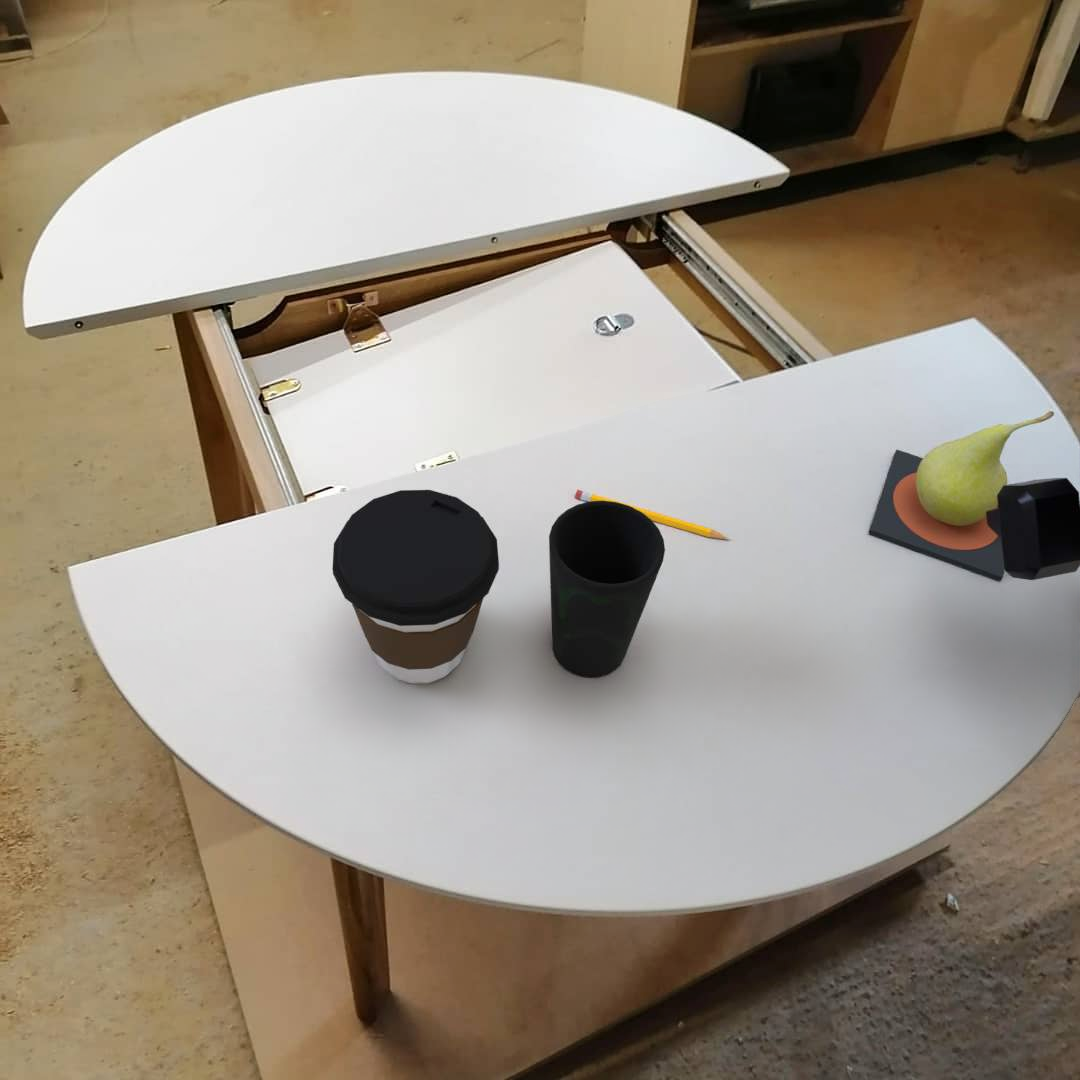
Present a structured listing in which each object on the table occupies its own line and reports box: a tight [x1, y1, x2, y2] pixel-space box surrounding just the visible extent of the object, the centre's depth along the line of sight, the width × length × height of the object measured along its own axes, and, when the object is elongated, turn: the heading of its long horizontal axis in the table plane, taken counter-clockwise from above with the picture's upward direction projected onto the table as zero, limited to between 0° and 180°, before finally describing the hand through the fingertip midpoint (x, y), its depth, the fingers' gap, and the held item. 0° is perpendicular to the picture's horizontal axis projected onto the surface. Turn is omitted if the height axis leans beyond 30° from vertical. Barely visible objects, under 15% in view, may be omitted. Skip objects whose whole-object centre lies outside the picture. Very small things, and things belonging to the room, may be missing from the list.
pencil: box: [574, 489, 730, 540], centre depth 84 cm, size 1×13×1 cm, turn 70°
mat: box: [867, 449, 1005, 582], centre depth 87 cm, size 11×11×1 cm
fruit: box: [916, 410, 1055, 526], centre depth 82 cm, size 7×8×12 cm
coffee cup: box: [332, 489, 500, 685], centre depth 70 cm, size 11×11×12 cm
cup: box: [548, 501, 666, 679], centre depth 71 cm, size 8×8×12 cm
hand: (1041, 508), depth 75 cm, fingers open, 9 cm apart
